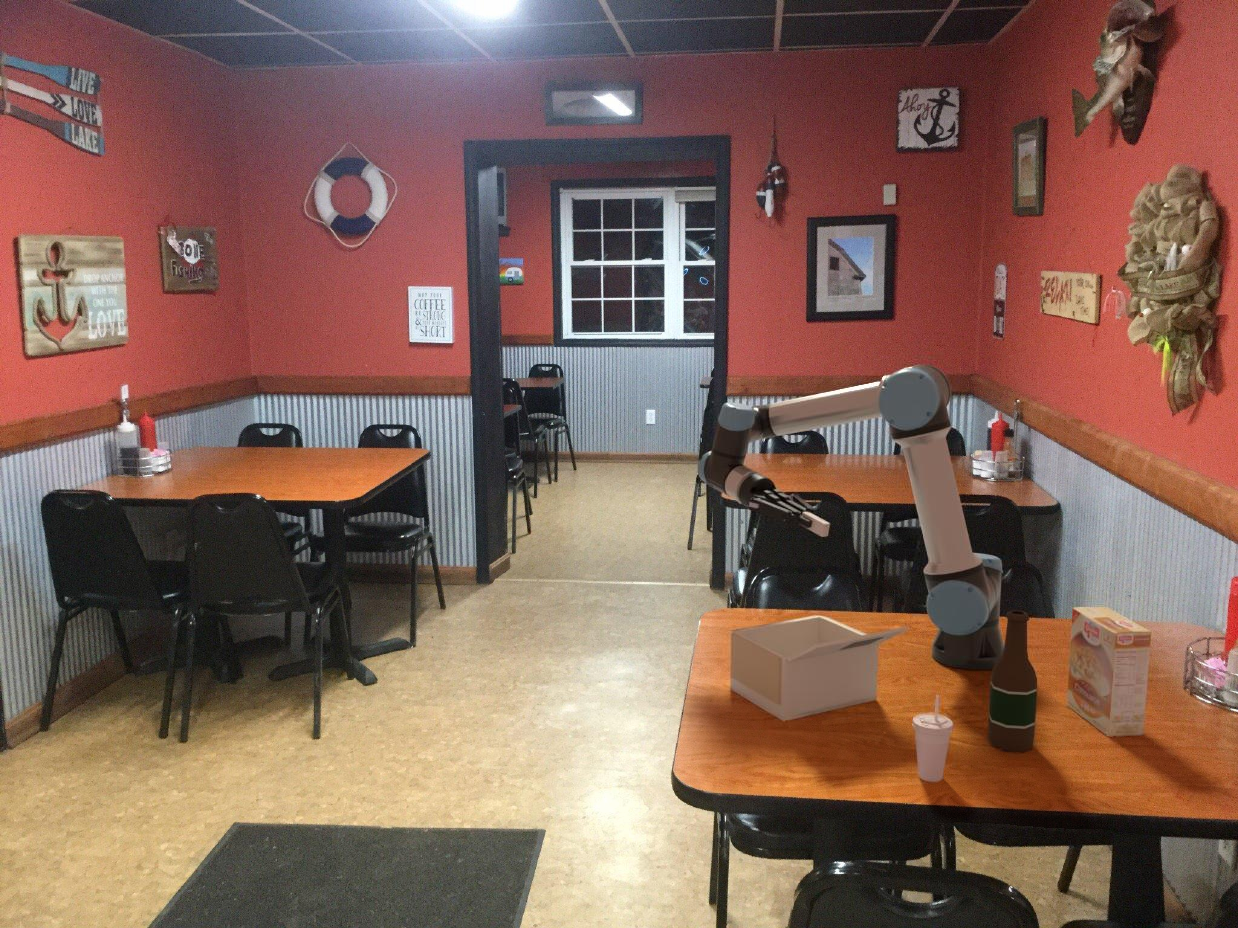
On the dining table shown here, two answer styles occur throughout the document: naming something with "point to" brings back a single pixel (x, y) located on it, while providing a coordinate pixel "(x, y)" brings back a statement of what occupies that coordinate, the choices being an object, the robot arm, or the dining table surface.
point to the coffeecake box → (1108, 670)
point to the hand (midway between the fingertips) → (825, 530)
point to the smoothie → (932, 743)
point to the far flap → (847, 644)
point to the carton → (801, 668)
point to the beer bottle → (1013, 691)
